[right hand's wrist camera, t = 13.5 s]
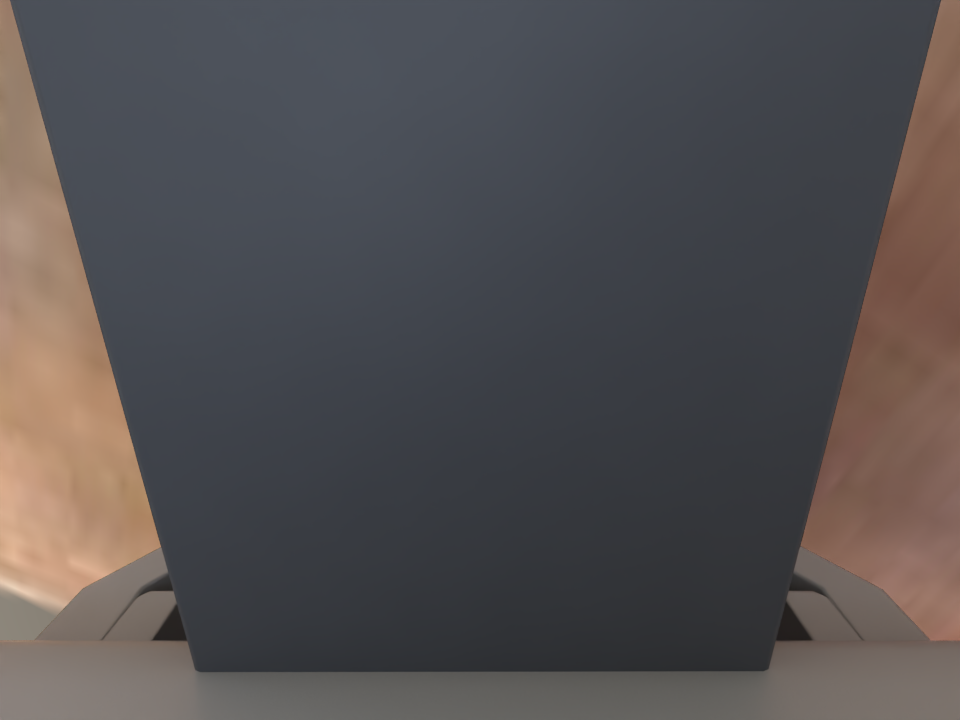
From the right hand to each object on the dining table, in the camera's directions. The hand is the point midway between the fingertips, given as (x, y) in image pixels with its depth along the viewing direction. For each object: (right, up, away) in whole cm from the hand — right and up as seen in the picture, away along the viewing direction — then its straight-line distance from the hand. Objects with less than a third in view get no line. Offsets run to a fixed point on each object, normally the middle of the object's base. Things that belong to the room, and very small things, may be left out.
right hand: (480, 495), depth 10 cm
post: (0, +20, -4) cm, 21 cm away
